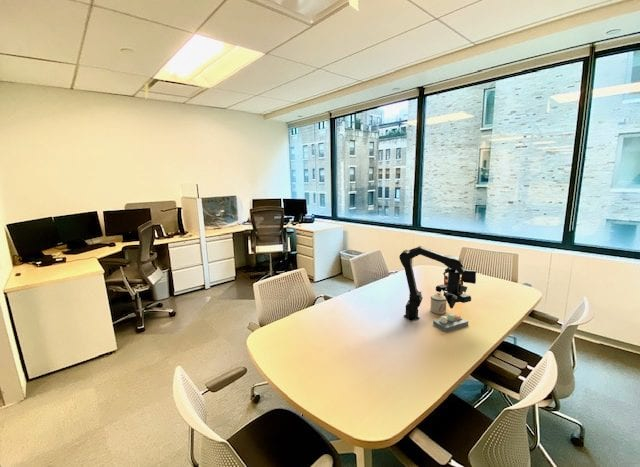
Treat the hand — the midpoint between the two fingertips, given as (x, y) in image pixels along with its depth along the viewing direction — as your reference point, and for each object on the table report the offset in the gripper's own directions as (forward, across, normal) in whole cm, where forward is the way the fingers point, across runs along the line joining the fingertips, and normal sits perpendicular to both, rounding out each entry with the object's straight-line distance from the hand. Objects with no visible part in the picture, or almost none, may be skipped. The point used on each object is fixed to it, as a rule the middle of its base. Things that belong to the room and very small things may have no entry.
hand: (451, 308), depth 159 cm
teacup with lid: (+10, +15, -8) cm, 20 cm away
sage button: (+8, 0, 0) cm, 8 cm away
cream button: (+8, 0, +5) cm, 9 cm away
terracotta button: (+9, 0, -5) cm, 10 cm away
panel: (+10, 0, 0) cm, 10 cm away
